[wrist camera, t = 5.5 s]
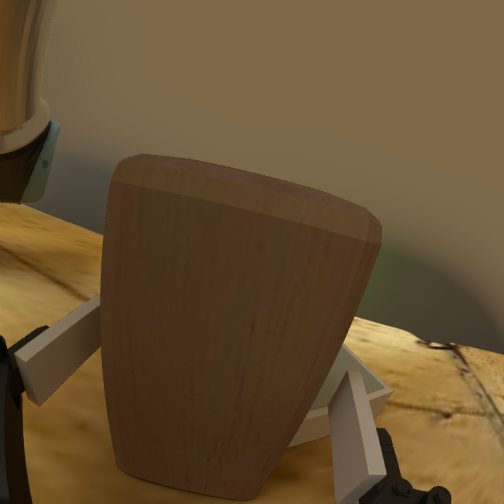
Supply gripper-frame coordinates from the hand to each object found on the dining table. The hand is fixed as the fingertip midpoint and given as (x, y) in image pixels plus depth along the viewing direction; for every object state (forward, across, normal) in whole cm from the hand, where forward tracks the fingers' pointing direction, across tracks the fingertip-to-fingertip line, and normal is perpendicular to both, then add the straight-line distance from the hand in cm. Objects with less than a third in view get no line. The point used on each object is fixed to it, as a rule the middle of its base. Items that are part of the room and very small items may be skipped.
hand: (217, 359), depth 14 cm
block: (+2, 0, -11) cm, 11 cm away
